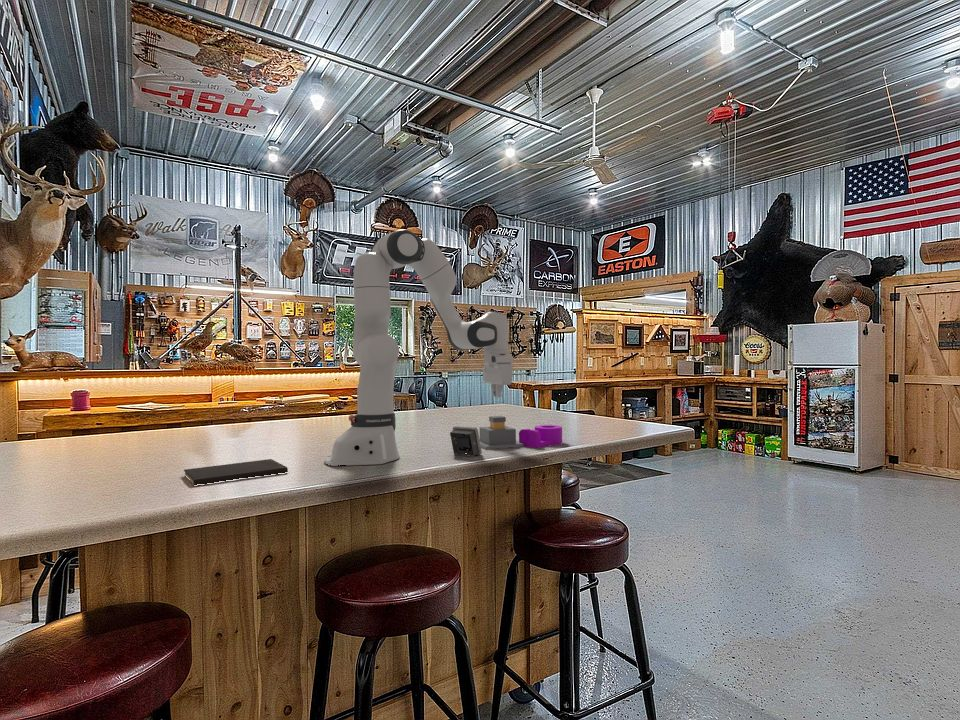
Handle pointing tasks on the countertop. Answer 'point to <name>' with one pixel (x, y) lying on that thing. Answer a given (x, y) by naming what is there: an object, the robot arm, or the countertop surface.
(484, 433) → the socket
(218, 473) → the hardcover book
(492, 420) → the tan jar
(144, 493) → the countertop surface
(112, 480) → the countertop surface
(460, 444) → the electrical switch
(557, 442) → the tape dispenser
